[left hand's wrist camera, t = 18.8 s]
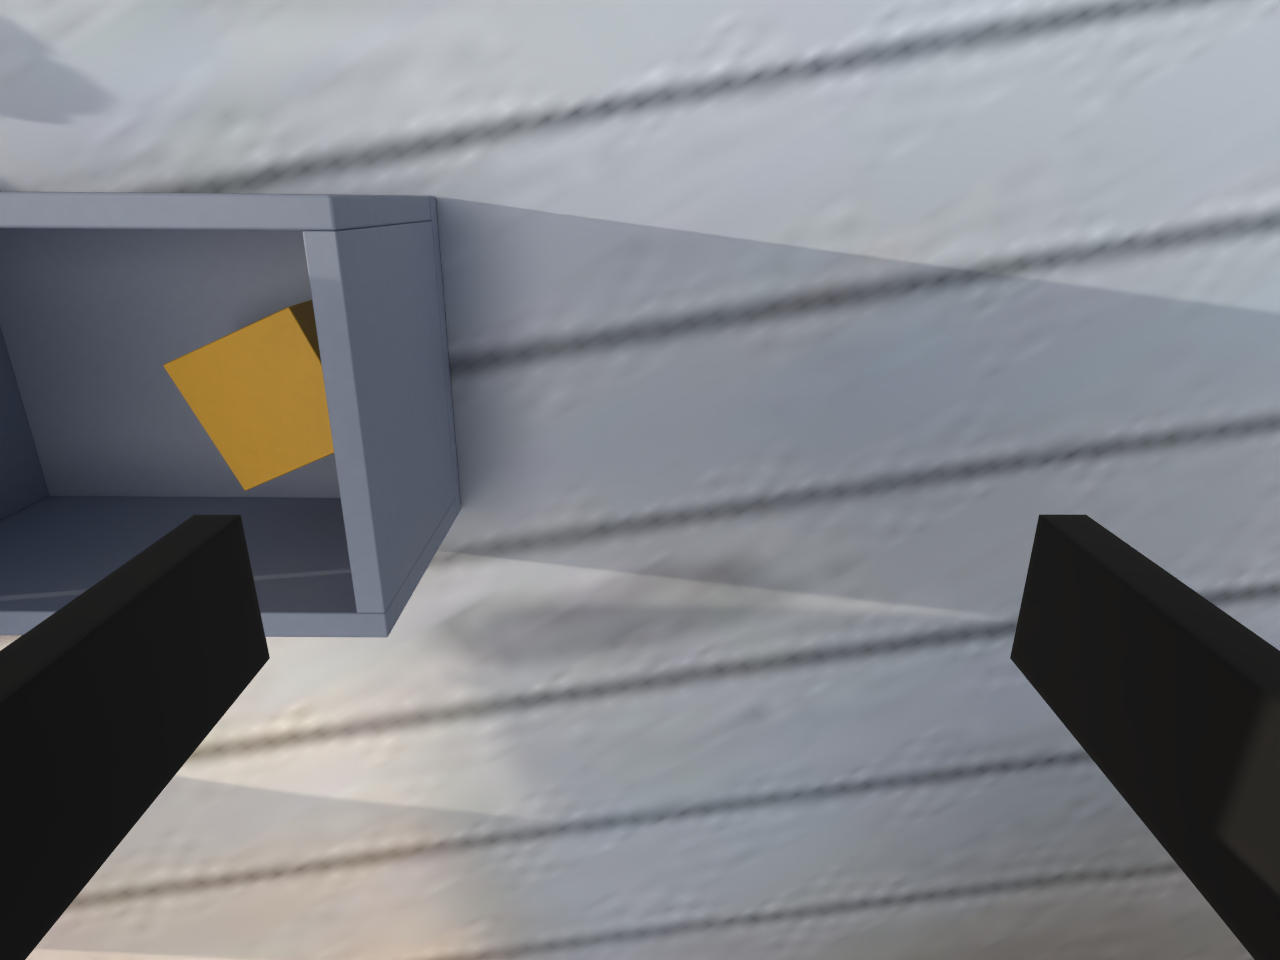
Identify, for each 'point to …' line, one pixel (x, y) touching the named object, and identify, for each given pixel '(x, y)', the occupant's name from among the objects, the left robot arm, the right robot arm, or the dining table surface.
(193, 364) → the block
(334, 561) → the chest
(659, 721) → the dining table surface
